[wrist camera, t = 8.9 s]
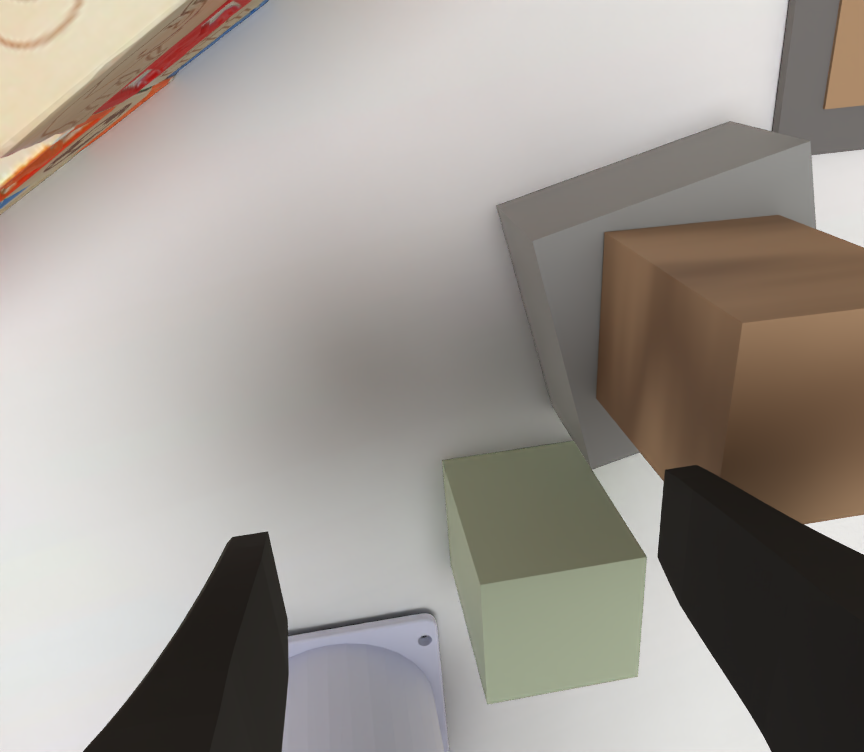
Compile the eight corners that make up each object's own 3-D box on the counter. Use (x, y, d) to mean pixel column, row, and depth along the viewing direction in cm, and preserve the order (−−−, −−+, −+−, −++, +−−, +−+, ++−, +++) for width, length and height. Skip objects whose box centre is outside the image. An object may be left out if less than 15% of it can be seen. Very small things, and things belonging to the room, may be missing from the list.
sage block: (571, 544, 27) (637, 676, 21) (450, 564, 26) (487, 704, 21) (572, 440, 25) (646, 557, 19) (442, 459, 24) (480, 585, 19)
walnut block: (752, 377, 20) (919, 505, 15) (596, 398, 19) (711, 539, 14) (778, 214, 18) (982, 293, 13) (604, 232, 17) (742, 322, 12)
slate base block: (749, 331, 24) (826, 385, 20) (549, 402, 24) (591, 469, 21) (724, 120, 21) (810, 140, 17) (493, 203, 21) (532, 241, 17)
